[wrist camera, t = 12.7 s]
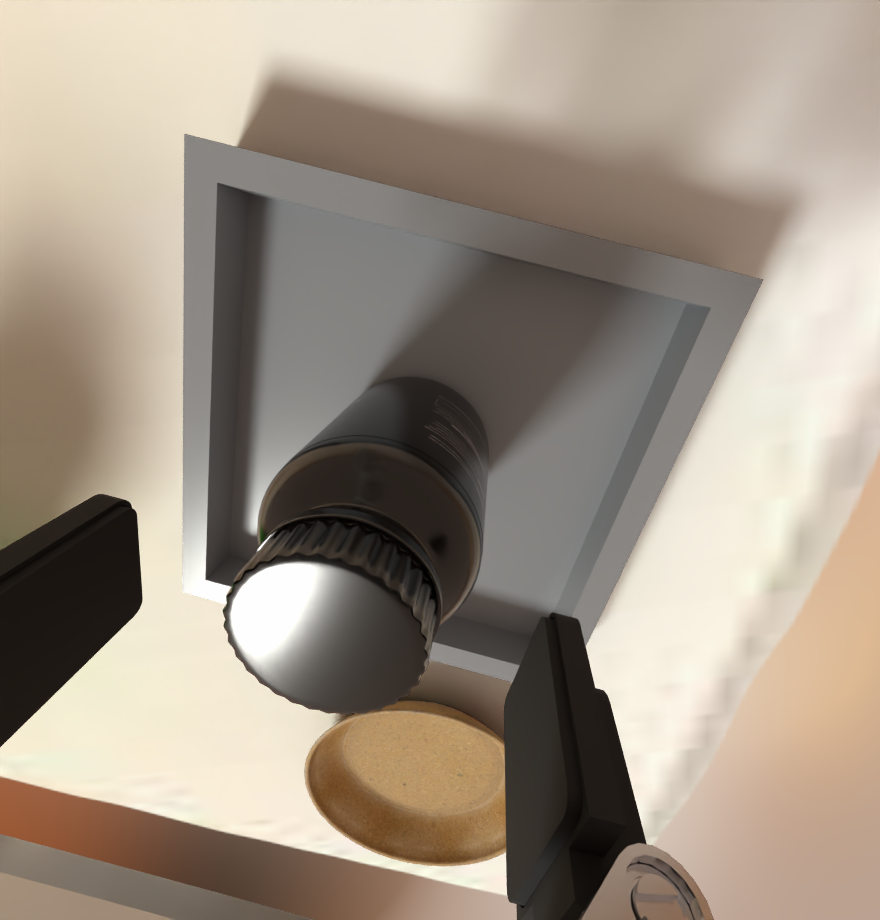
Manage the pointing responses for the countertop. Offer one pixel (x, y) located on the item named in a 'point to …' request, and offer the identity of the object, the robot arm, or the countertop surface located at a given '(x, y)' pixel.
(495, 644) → the tray
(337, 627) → the supplement bottle
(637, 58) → the countertop surface
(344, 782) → the plant saucer
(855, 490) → the countertop surface
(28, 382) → the countertop surface
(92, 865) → the robot arm
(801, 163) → the countertop surface
